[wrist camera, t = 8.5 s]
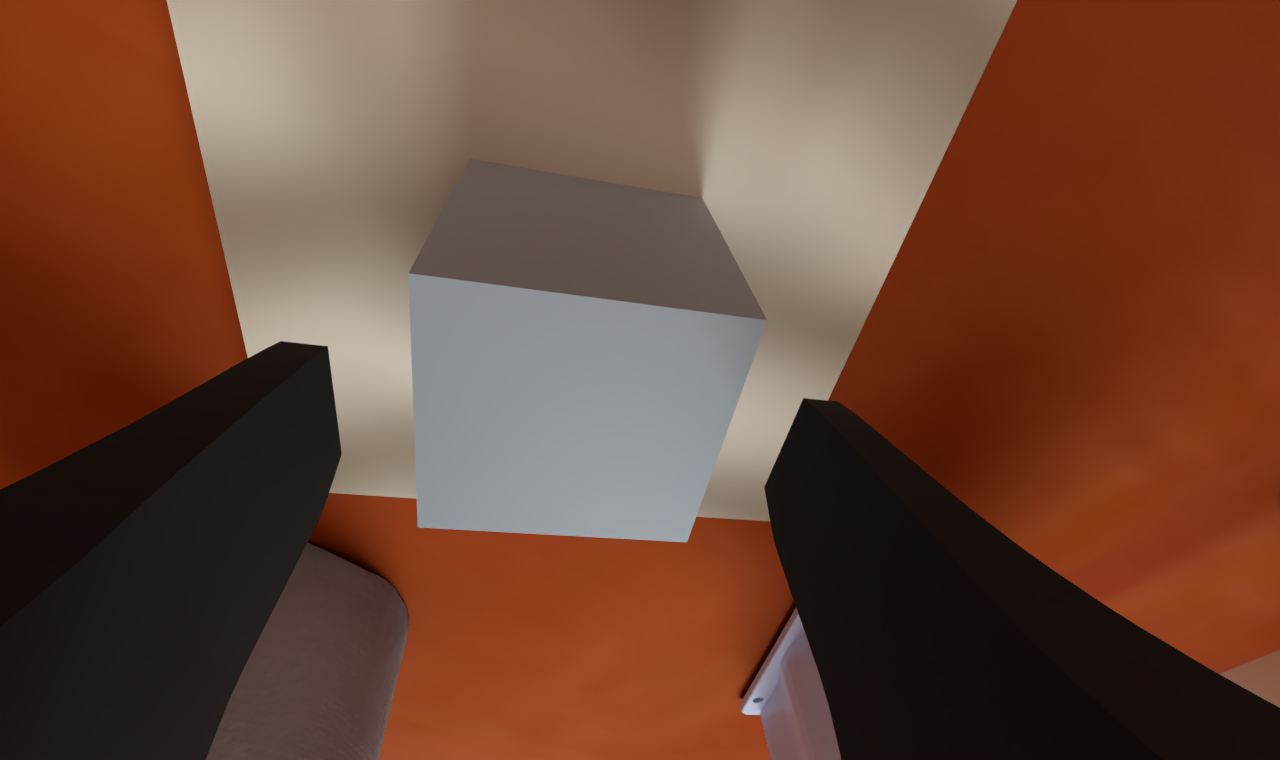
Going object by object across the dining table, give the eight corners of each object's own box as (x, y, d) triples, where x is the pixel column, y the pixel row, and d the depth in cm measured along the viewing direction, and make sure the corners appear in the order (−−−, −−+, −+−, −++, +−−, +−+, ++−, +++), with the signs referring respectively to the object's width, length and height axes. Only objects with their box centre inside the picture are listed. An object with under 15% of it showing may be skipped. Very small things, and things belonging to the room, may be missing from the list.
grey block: (656, 379, 14) (686, 542, 10) (464, 359, 14) (417, 527, 10) (702, 198, 12) (767, 319, 8) (469, 159, 11) (407, 272, 7)
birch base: (754, 475, 20) (770, 521, 18) (305, 439, 17) (277, 489, 15) (962, -19, 12) (1023, -15, 10) (189, -222, 9) (107, -260, 8)
